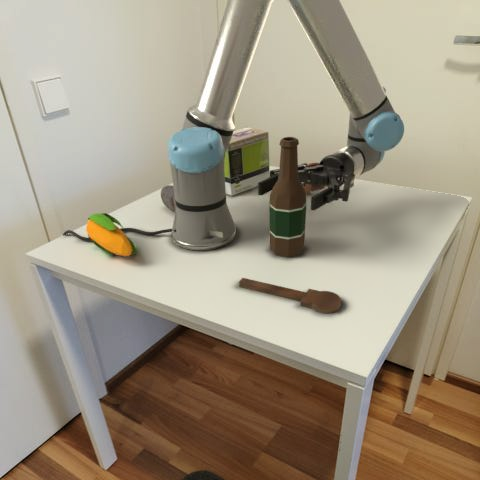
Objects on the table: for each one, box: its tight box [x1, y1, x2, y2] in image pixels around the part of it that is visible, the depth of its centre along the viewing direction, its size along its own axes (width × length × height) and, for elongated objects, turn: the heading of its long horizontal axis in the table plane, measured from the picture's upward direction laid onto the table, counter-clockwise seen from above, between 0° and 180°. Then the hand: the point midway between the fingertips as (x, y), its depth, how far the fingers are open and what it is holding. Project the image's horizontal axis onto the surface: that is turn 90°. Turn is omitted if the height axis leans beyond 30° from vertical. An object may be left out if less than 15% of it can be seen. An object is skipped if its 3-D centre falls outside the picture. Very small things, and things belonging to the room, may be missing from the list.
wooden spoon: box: [238, 277, 342, 314], centre depth 86 cm, size 20×6×1 cm, turn 63°
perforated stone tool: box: [160, 184, 176, 214], centre depth 119 cm, size 15×5×7 cm, turn 38°
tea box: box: [224, 126, 270, 197], centre depth 130 cm, size 15×10×15 cm, turn 130°
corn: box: [85, 212, 138, 257], centre depth 103 cm, size 7×8×20 cm
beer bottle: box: [268, 136, 307, 258], centre depth 94 cm, size 8×8×24 cm
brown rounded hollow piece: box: [302, 162, 327, 195], centre depth 129 cm, size 12×10×8 cm
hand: (284, 196), depth 93 cm, fingers open, 13 cm apart
